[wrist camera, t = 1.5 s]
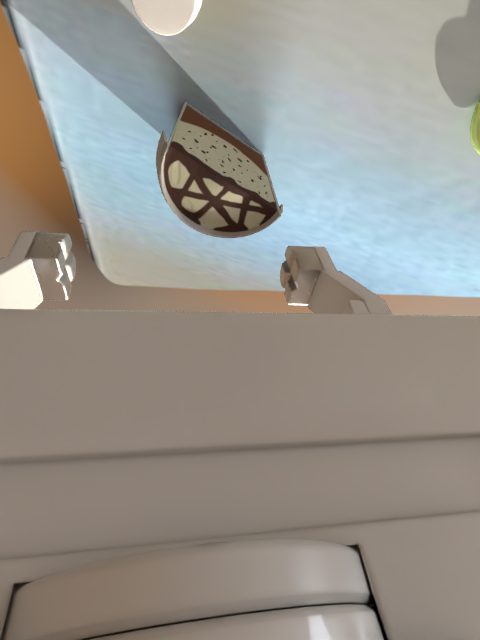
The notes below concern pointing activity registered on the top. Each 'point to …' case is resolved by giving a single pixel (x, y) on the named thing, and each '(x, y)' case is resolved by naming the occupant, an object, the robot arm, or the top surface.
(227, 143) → the food container
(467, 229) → the top surface
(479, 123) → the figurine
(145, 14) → the supplement bottle
